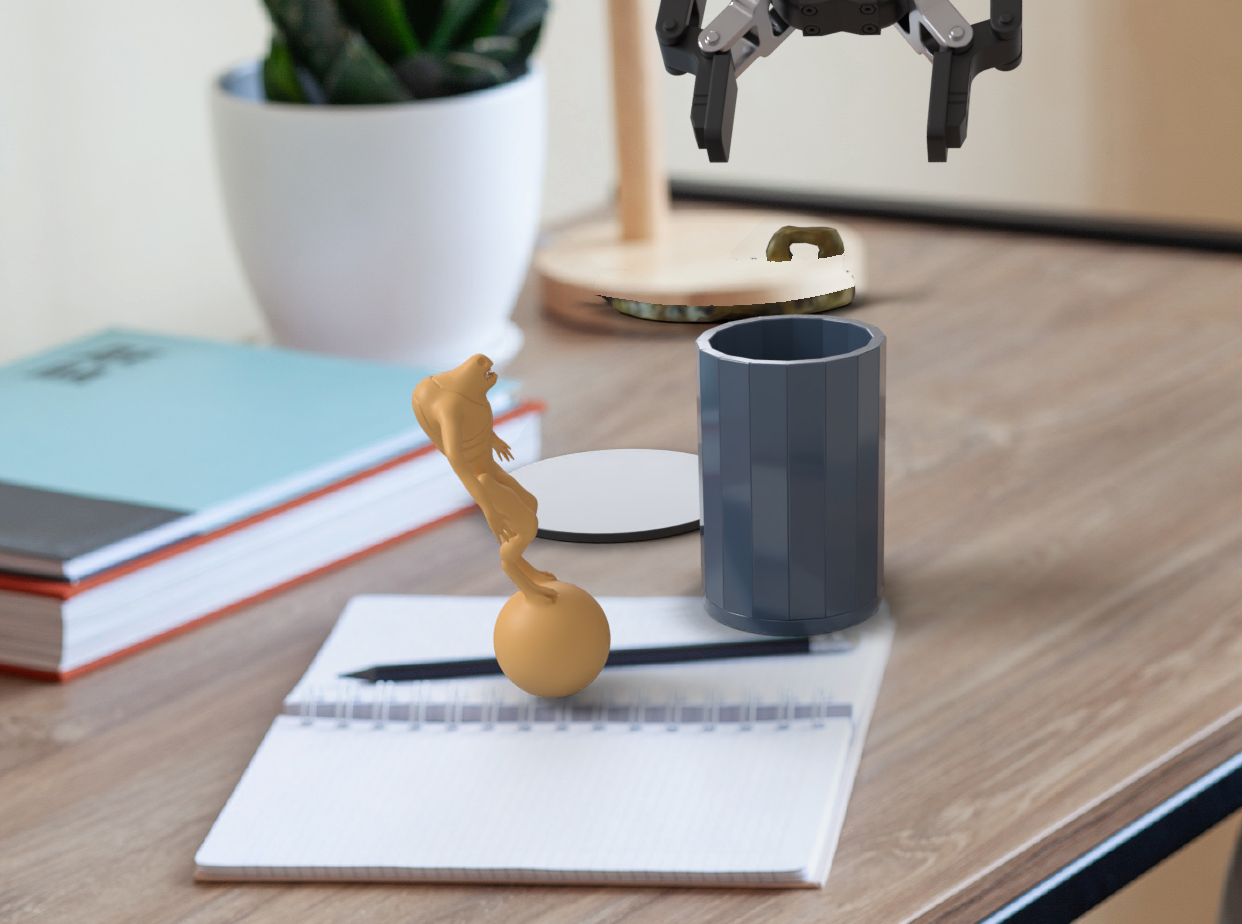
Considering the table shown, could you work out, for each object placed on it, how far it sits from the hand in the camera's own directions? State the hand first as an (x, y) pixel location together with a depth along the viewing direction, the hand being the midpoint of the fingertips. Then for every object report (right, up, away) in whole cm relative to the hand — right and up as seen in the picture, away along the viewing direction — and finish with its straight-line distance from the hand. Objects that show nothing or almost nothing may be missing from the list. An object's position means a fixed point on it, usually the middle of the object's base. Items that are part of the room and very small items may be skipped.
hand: (825, 151), depth 81 cm
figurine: (-12, -21, -9) cm, 26 cm away
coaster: (-8, -13, +9) cm, 17 cm away
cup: (-2, -18, -3) cm, 18 cm away
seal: (-1, +1, +38) cm, 38 cm away
